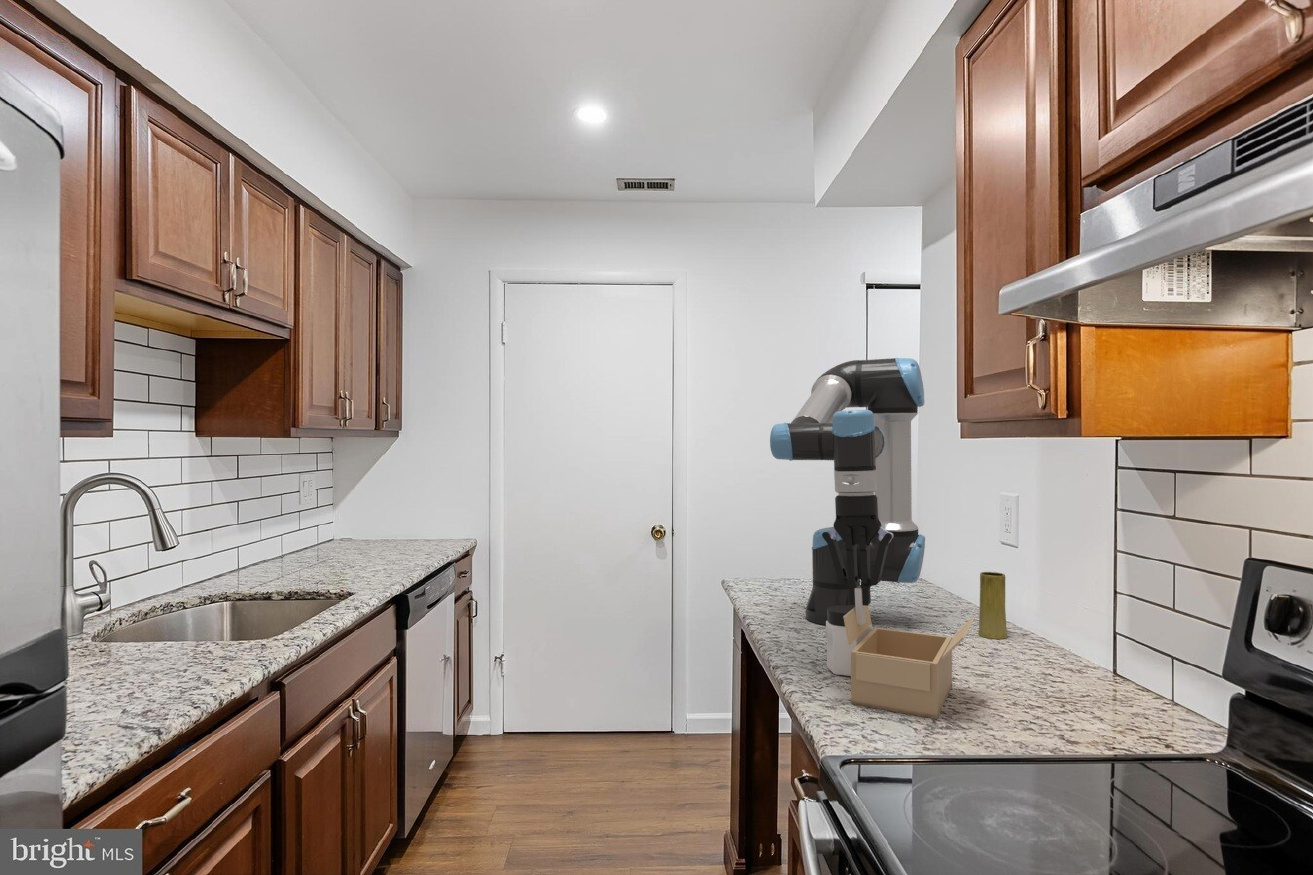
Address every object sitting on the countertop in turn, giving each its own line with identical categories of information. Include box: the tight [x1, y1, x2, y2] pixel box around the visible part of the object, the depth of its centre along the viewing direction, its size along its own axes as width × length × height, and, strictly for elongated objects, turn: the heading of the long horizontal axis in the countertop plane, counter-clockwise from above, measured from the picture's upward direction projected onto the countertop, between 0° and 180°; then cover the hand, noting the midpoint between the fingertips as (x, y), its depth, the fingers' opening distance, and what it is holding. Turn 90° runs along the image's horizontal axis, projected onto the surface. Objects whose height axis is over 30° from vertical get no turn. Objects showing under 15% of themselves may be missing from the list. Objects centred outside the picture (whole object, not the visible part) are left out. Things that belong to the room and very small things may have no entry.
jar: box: [825, 605, 873, 677], centre depth 144 cm, size 9×8×12 cm
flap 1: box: [843, 605, 872, 645], centre depth 134 cm, size 16×5×1 cm
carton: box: [850, 627, 953, 720], centre depth 130 cm, size 19×14×9 cm
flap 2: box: [942, 615, 975, 659], centre depth 126 cm, size 16×5×1 cm
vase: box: [978, 571, 1008, 640], centre depth 168 cm, size 6×6×14 cm
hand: (860, 622), depth 134 cm, fingers closed
